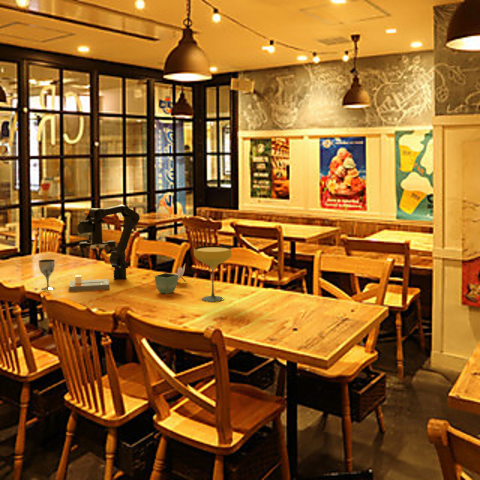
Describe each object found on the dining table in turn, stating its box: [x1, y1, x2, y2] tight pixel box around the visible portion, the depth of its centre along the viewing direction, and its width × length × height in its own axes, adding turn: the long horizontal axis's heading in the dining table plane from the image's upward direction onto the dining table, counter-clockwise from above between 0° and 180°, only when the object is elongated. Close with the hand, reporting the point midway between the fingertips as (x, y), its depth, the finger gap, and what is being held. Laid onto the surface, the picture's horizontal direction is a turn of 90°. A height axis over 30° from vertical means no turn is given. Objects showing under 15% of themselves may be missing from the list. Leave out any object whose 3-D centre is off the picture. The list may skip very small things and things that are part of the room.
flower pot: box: [154, 272, 179, 295], centre depth 286 cm, size 9×9×9 cm
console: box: [68, 278, 110, 293], centre depth 296 cm, size 20×14×3 cm
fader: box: [74, 274, 83, 284], centre depth 294 cm, size 3×5×5 cm, turn 15°
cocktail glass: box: [193, 245, 232, 303], centre depth 271 cm, size 18×18×25 cm
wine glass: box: [38, 258, 56, 291], centre depth 292 cm, size 8×8×15 cm
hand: (98, 260), depth 305 cm, fingers closed
